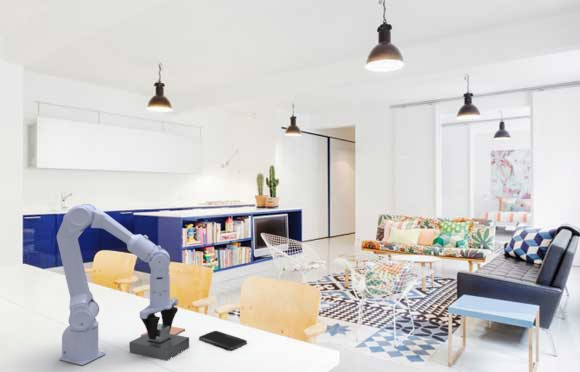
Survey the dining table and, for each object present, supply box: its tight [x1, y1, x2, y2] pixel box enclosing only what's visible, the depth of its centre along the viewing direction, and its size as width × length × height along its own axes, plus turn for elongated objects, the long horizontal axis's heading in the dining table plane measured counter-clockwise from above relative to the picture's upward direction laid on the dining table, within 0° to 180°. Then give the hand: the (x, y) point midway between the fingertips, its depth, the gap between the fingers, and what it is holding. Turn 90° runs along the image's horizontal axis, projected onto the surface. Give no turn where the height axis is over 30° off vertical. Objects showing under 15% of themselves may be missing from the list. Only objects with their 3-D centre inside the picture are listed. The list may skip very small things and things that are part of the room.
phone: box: [198, 330, 248, 352], centre depth 127 cm, size 8×1×15 cm
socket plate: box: [129, 334, 190, 361], centre depth 120 cm, size 14×10×3 cm
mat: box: [140, 326, 186, 337], centre depth 134 cm, size 10×10×1 cm
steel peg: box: [150, 323, 170, 344], centre depth 120 cm, size 4×4×7 cm
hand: (159, 335), depth 120 cm, fingers open, 6 cm apart
